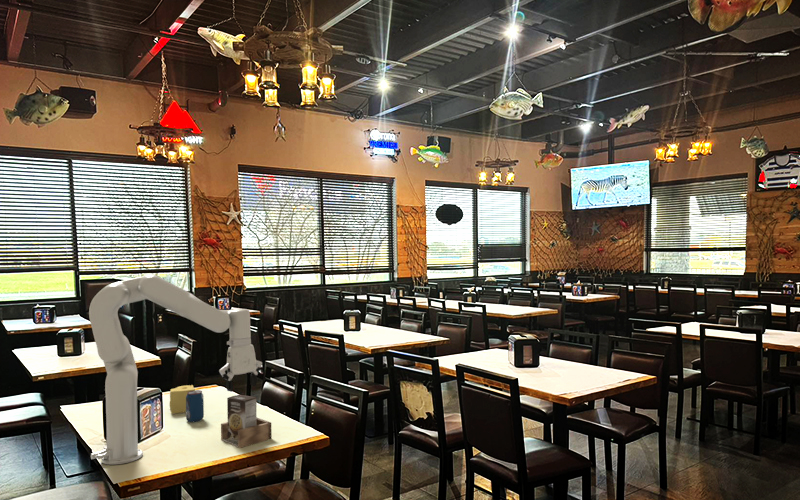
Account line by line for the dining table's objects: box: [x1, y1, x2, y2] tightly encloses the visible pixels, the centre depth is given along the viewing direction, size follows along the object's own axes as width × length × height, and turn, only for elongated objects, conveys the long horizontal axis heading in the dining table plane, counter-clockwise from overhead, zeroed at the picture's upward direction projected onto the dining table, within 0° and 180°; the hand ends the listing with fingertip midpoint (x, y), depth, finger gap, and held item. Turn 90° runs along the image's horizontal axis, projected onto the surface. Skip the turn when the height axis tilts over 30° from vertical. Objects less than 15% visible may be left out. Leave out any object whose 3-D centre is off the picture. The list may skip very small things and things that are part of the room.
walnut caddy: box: [220, 416, 273, 449], centre depth 204 cm, size 13×13×6 cm
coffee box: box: [226, 393, 257, 444], centre depth 203 cm, size 9×6×16 cm
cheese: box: [169, 384, 196, 415], centre depth 246 cm, size 10×11×10 cm
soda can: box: [185, 389, 205, 424], centre depth 229 cm, size 7×7×12 cm
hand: (242, 388), depth 203 cm, fingers open, 9 cm apart
